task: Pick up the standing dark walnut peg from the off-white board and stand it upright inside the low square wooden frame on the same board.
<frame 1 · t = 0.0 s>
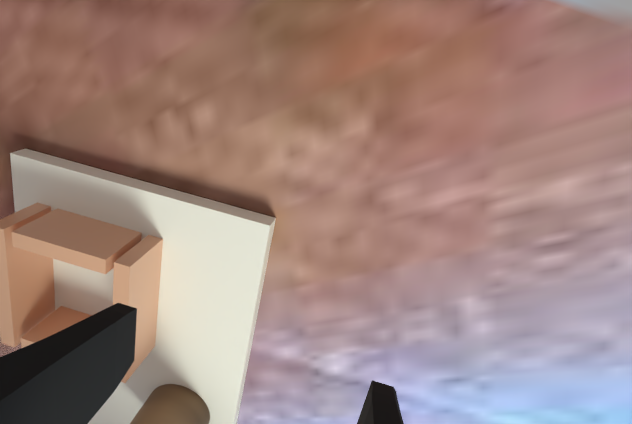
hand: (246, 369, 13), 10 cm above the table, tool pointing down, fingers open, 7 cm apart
square wooden frame: (109, 268, 26), resting on off-white board
off-white board: (138, 332, 27), on the table
walnut peg: (179, 409, 27), point 1 cm above the table, touching off-white board
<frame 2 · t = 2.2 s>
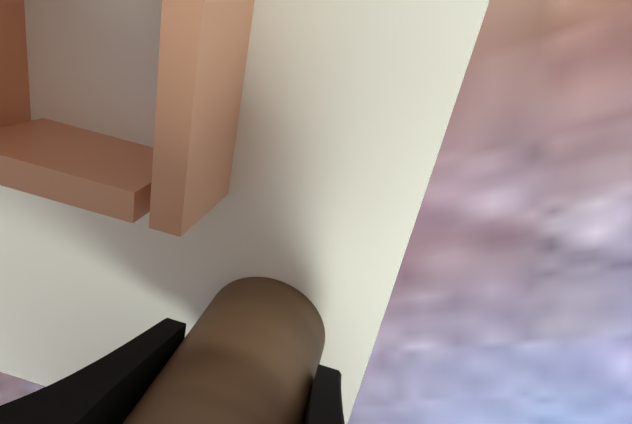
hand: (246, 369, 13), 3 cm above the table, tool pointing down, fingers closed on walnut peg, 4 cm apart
square wooden frame: (139, 37, 13), resting on off-white board
off-white board: (191, 181, 14), on the table
walnut peg: (265, 329, 15), point 1 cm above the table, touching gripper, off-white board
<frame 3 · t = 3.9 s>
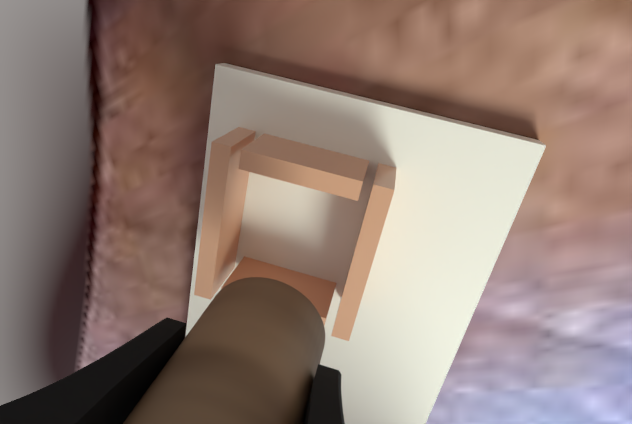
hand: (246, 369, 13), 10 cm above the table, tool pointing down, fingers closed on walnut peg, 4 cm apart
square wooden frame: (305, 211, 22), resting on off-white board
off-white board: (326, 290, 23), on the table
walnut peg: (265, 330, 15), point 8 cm above the table, touching gripper
when the fingers open (4 cm above the table, at t = 5.8 s): walnut peg drops 1 cm, resting on off-white board.
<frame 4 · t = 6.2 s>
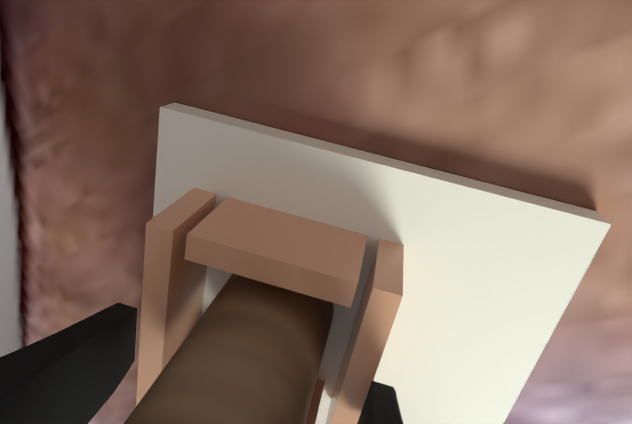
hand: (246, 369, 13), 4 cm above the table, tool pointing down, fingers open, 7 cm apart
square wooden frame: (284, 289, 17), resting on off-white board
off-white board: (313, 381, 18), on the table
walnut peg: (278, 303, 16), point 1 cm above the table, touching off-white board
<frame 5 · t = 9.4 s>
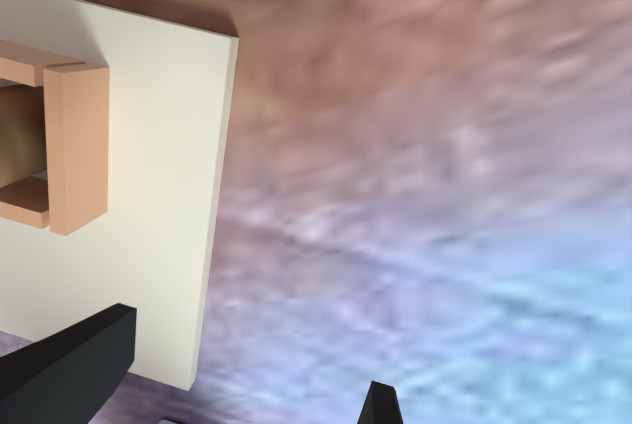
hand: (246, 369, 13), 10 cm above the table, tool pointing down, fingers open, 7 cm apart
square wooden frame: (55, 122, 22), resting on off-white board
off-white board: (91, 203, 24), on the table
walnut peg: (41, 125, 21), point 1 cm above the table, touching off-white board
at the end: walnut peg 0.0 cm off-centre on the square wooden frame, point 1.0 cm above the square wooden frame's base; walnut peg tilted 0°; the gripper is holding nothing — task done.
